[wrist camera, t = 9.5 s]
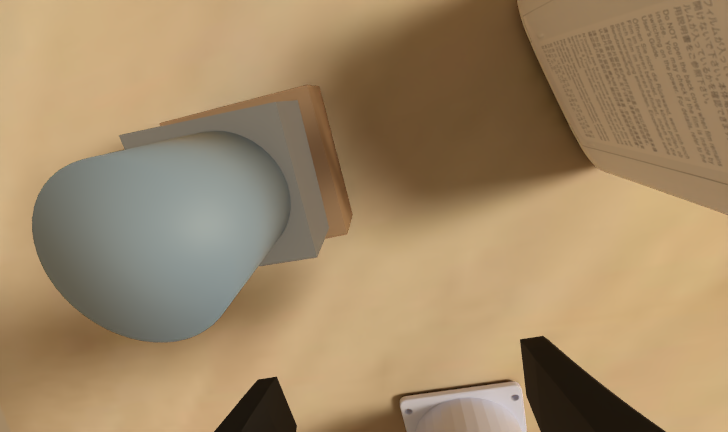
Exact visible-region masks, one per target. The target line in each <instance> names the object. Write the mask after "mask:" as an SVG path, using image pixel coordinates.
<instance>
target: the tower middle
mask: <svg viewBox="0 0 728 432" xmlns="http://www.w3.org/2000/svg"><path fill="white" fill-rule="evenodd" d="M206 131H226V132H231V133H235V134H238V135H241V136H243V137H245V138H247V139H249V140H251V141H253V142H255V143H256V144H258V145H259V146H260V147H262V148H263V149H264V150H265V151H266V152H267V153H268V154H269V155H270V156H271V157H272V158H273V159H274V160H275V162H276V163H277V164H278V166H279V167H280V169H281V171H282V173H283V174H284V177H285V179H286V182H287V184H288V188H289V192H290V199H291V210H290V216H289V220H288V223H287V226H286V228H285V230H284V232H283V233H282V235H281V236H280V238H279V239H278V240H277V242H276V243H275V244H274V246H273V247H272V248H271V250H270V251H269V252H268V254H267V255H266V256H265V258H264V259H263V261H262V262H261V263H260V265H259V266H265V265H271V264H277V263H284V262H290V261H297V260H303V259H309V258H316V257H317V256H318V254H319V251H320V249H321V247H322V244H323V242H324V239H325V237H326V234H327V232H328V230H329V225H328V221H327V217H326V213H325V209H324V205H323V201H322V197H321V193H320V188H319V184H318V180H317V176H316V172H315V168H314V164H313V160H312V156H311V152H310V148H309V144H308V140H307V136H306V132H305V128H304V124H303V120H302V116H301V112H300V107H299V103H298V100H293V101H279V102H272V103H267V104H263V105H258V106H254V107H249V108H244V109H240V110H235V111H230V112H226V113H221V114H216V115H212V116H207V117H202V118H198V119H193V120H188V121H184V122H179V123H174V124H170V125H165V126H160V127H156V128H151V129H146V130H142V131H137V132H132V133H128V134H123V135H119V137H120V139H121V142H122V144H123V146H124V149H125V150H126V149H130V148H135V147H139V146H143V145H148V144H152V143H157V142H161V141H165V140H170V139H174V138H178V137H183V136H187V135H191V134H196V133H200V132H206Z"/></svg>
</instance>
